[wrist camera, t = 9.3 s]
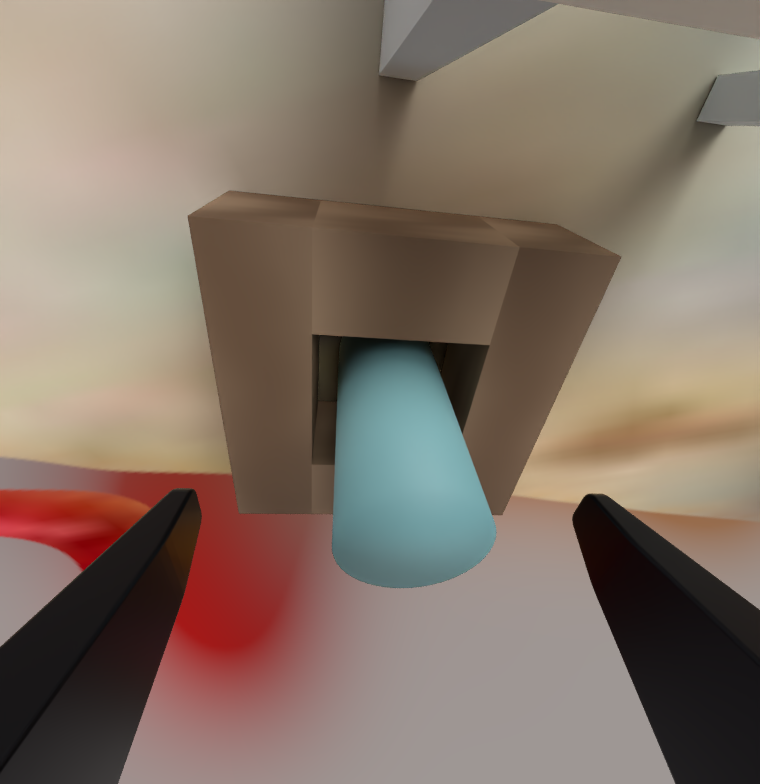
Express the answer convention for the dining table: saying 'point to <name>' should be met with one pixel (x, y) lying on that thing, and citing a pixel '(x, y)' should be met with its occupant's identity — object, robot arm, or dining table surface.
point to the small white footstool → (521, 3)
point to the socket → (384, 327)
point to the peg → (402, 471)
